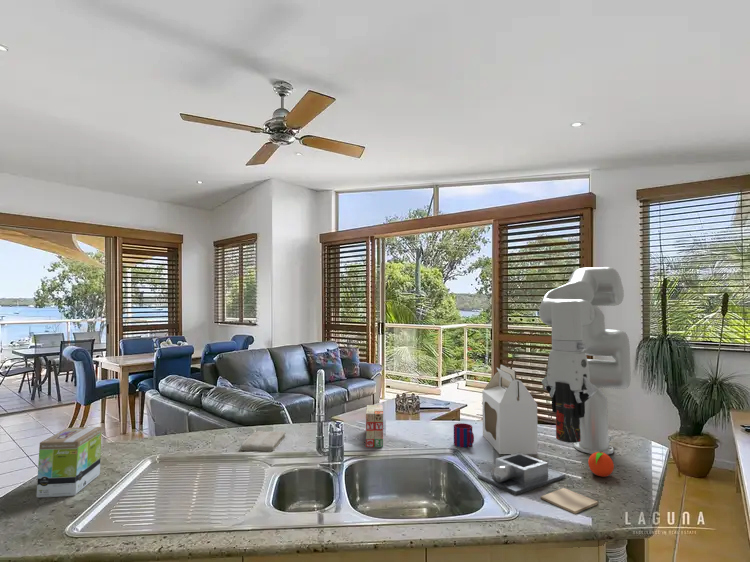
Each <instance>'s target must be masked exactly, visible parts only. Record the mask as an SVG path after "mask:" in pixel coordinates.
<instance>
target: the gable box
mask: <svg viewBox="0 0 750 562" xmlns="http://www.w3.org/2000/svg"><path fill="white" fill-rule="evenodd" d="M495 368H496V370H497V371H496V372H495V373H494V375H493V376H492V378H491V379H490V380H489V382H488V383H487V385H485V387H484V389H483V390H482V393H481V394H482V396H481V397H482V435H483V437H484V438H485V439H486V440H487V441H488V443H489V444H490V445H491V446H492V447H493V448H494V450H495V451H496V452H497V453H498V454H499V455H500V454H514V453H518V452H520V453H522V454H525V455H538V454H539V453H538V452H539V449H538V448H539V446H538V445H539V444H538V442H539V441H538V439H539V437H538V436H539V435H538V403H537V402H536V400H535V399H534V398H533V396H532V394H531V393H530V392H529V390H528V389H527V387H526V385H525V384H524V382H522V380H520V379H517V372H516V370H514V369H512V368H511V367H508V366H506V365H504V364H500V367H498V366H497V367H495Z"/></svg>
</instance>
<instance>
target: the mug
mask: <svg viewBox="0 0 750 562" xmlns="http://www.w3.org/2000/svg"><path fill="white" fill-rule="evenodd" d="M474 442H475V436H474V432H473V425H471V424H469V423H464V422H463V423H461V422H460V423H455V424H453V446H455V447H458V448H465V449H467V448H470V447H471V448H472V447H473V444H474Z"/></svg>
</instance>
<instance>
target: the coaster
mask: <svg viewBox="0 0 750 562" xmlns="http://www.w3.org/2000/svg"><path fill="white" fill-rule="evenodd" d="M540 499H541V500H543V501H545V502H548V503H550V504H552V505H554V506H557V507H559V508H561V509H563V510H565V511H568V512H569V513H572V514H575V515H576V514H578V513H580V512H583V511H584V510H587V509H590V508H591V507H595V506H597V505H599V501H597V500H595V499H592V498H590V497H588V496H585V495H583V494H580V493H578V492H576V491H573V490H570V489H568V488H566V487H562V488H560V489H557V490H554V491H551V492H549V493H547V494H543V495H541V496H540Z"/></svg>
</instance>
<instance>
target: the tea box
mask: <svg viewBox="0 0 750 562" xmlns="http://www.w3.org/2000/svg"><path fill="white" fill-rule="evenodd" d="M102 429H103V428H102V426H85V427H67V428H65V429H63V430H61V431H59V432H57V433H56V434H54V435H52V436H50V437H48V438H46V439H45V440H42V441H40V442H39V449H38V462H37V464H38V466H37V467H38V468H37V483H36V498H53V497H54V498H56V497H74V496H76V495H77V494H78V493H79V492H80V491H82V490H83V489H84V488H85V487H87V485H89V484H90V483H91V482H92V481H93V480H95V479H96V478H97V477H99V475H100V474H101V460H102V459H101V456H102V455H101V454H102Z"/></svg>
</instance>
